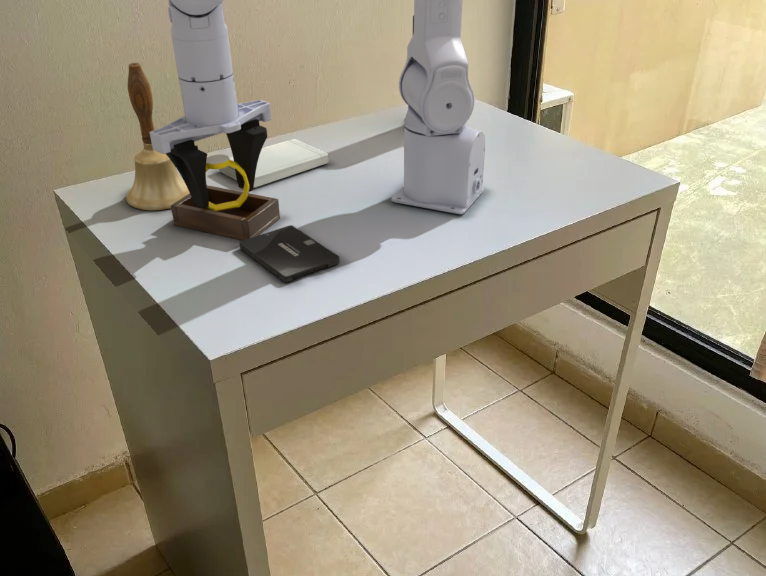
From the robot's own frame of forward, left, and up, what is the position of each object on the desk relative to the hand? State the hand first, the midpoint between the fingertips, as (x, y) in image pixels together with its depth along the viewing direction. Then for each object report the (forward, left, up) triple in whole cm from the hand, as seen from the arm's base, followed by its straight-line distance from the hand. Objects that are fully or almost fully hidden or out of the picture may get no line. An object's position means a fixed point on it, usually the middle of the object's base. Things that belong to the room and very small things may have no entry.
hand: (223, 196), depth 90 cm
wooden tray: (0, 0, -3) cm, 3 cm away
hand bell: (+12, -3, -3) cm, 13 cm away
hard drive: (+4, -16, -3) cm, 17 cm away
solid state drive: (-11, +5, -3) cm, 12 cm away
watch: (0, 0, -2) cm, 2 cm away
